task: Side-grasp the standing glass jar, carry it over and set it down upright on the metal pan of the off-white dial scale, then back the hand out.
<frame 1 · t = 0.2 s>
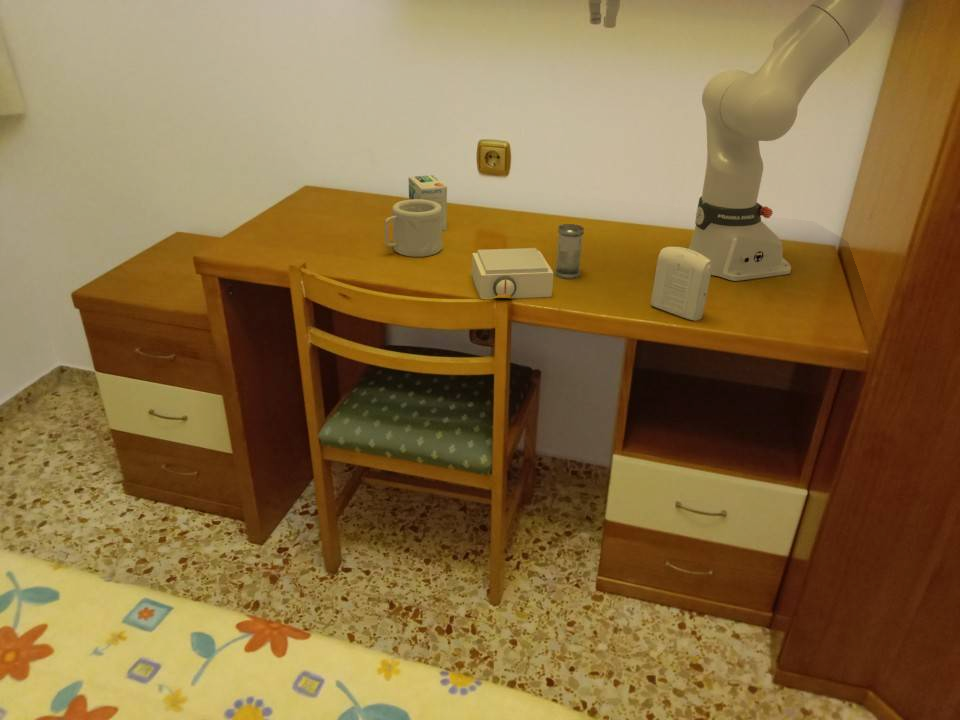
hand: (602, 26, 136), 47 cm above the table, tool pointing down, fingers open, 8 cm apart
scale: (510, 285, 150), on the table
mug: (412, 251, 167), on the table
light bulb box: (427, 225, 182), on the table
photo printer: (676, 312, 142), on the table
glass jar: (567, 274, 157), on the table
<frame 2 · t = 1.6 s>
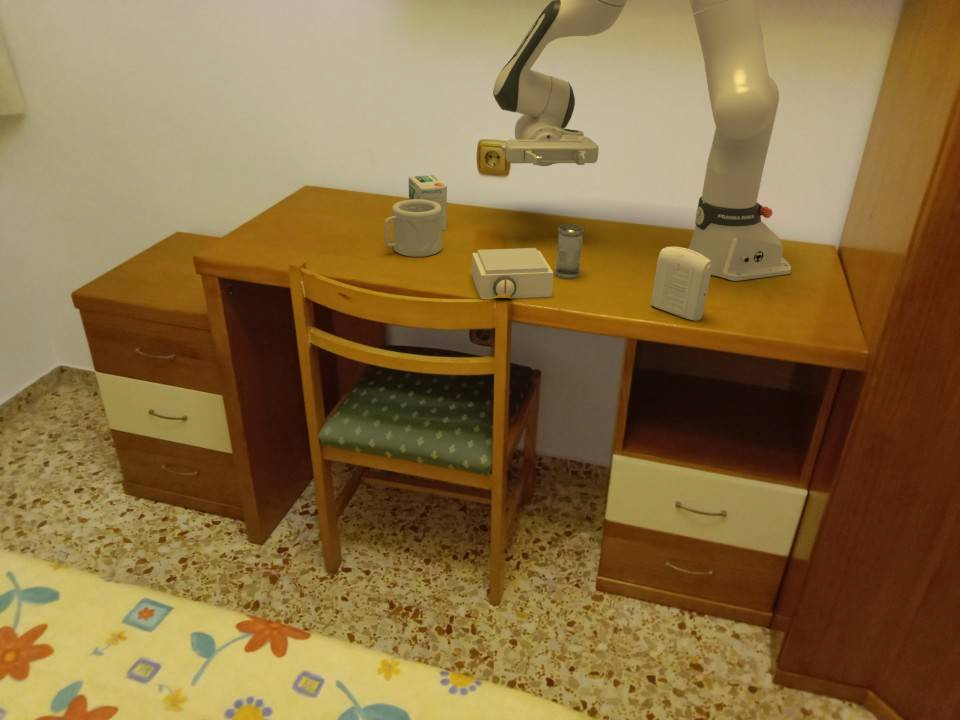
hand: (559, 161, 157), 21 cm above the table, tool horizontal, fingers open, 8 cm apart
nothing on the table moved.
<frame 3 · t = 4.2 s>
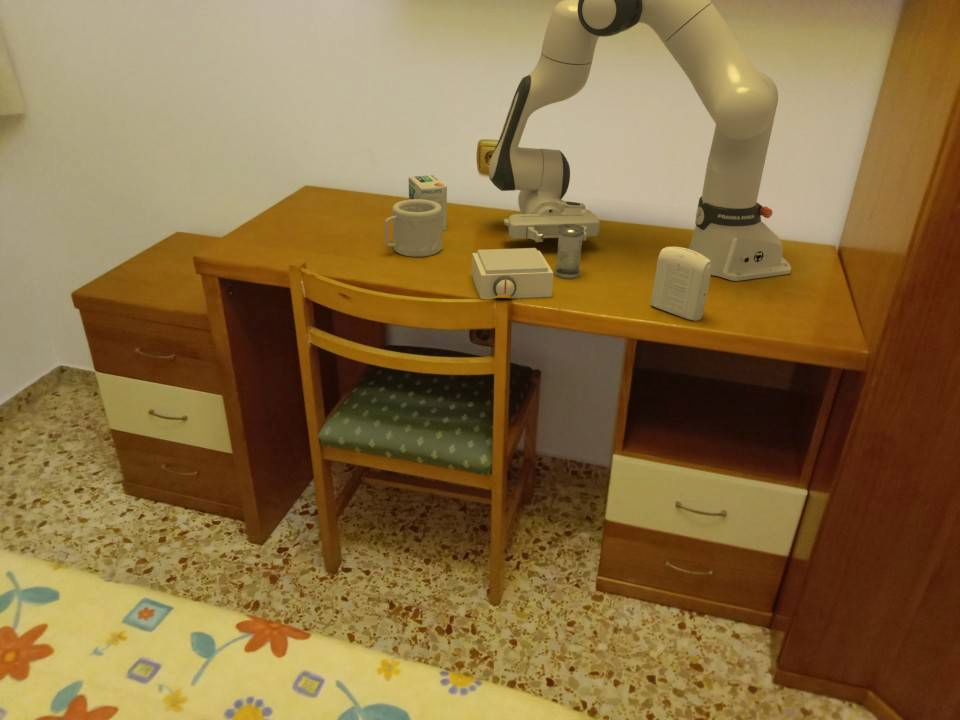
hand: (561, 237, 160), 5 cm above the table, tool horizontal, fingers open, 8 cm apart
nothing on the table moved.
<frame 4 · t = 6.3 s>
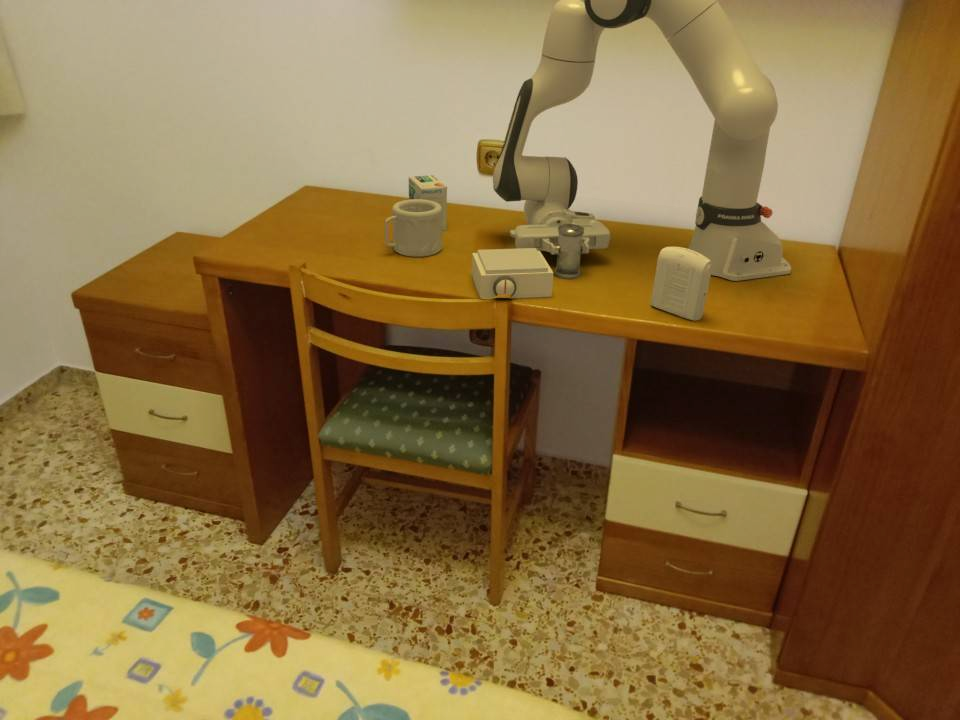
hand: (570, 250, 153), 6 cm above the table, tool horizontal, fingers closed on glass jar, 5 cm apart
glass jar: (567, 274, 157), on the table, touching gripper
everything else where it was.
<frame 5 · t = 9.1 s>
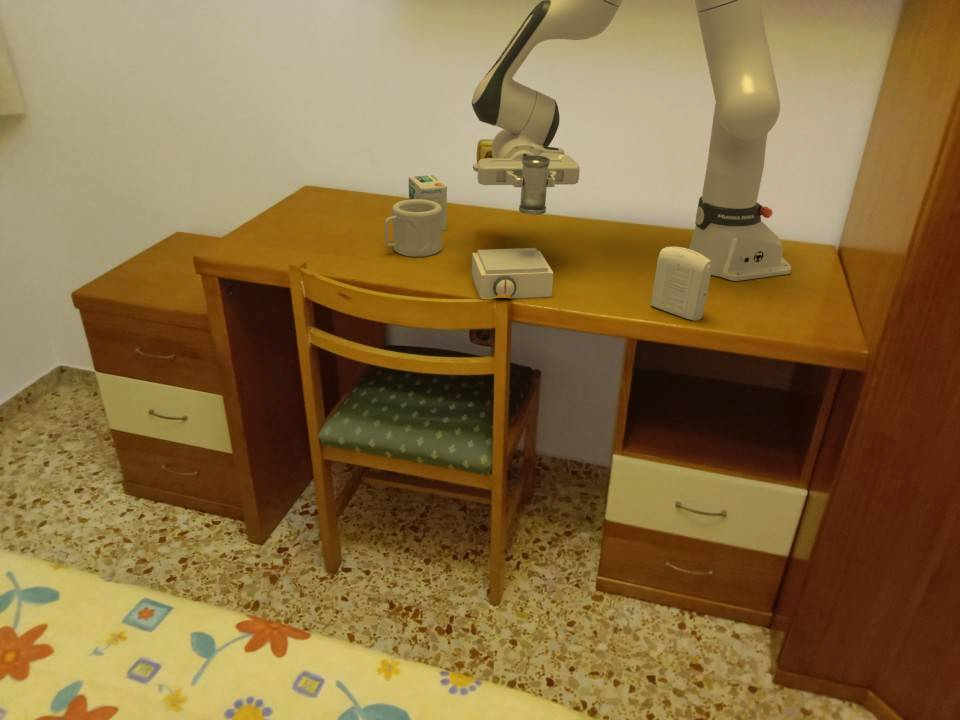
hand: (535, 183, 142), 20 cm above the table, tool horizontal, fingers closed on glass jar, 5 cm apart
glass jar: (532, 210, 146), point 15 cm above the table, touching gripper
everything else where it was.
when the fingers open (13 cm above the table, at t = 11.6 s): glass jar drops 1 cm, resting on scale.
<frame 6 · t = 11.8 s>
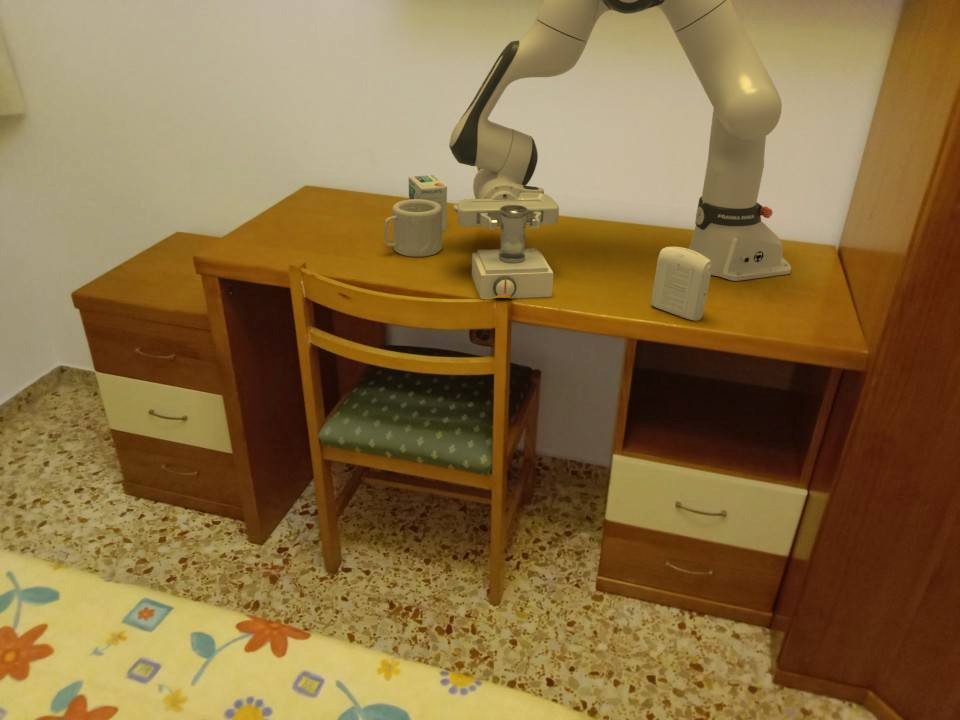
hand: (514, 225, 143), 13 cm above the table, tool horizontal, fingers open, 7 cm apart
glass jar: (511, 258, 148), point 6 cm above the table, touching scale
everything else where it was.
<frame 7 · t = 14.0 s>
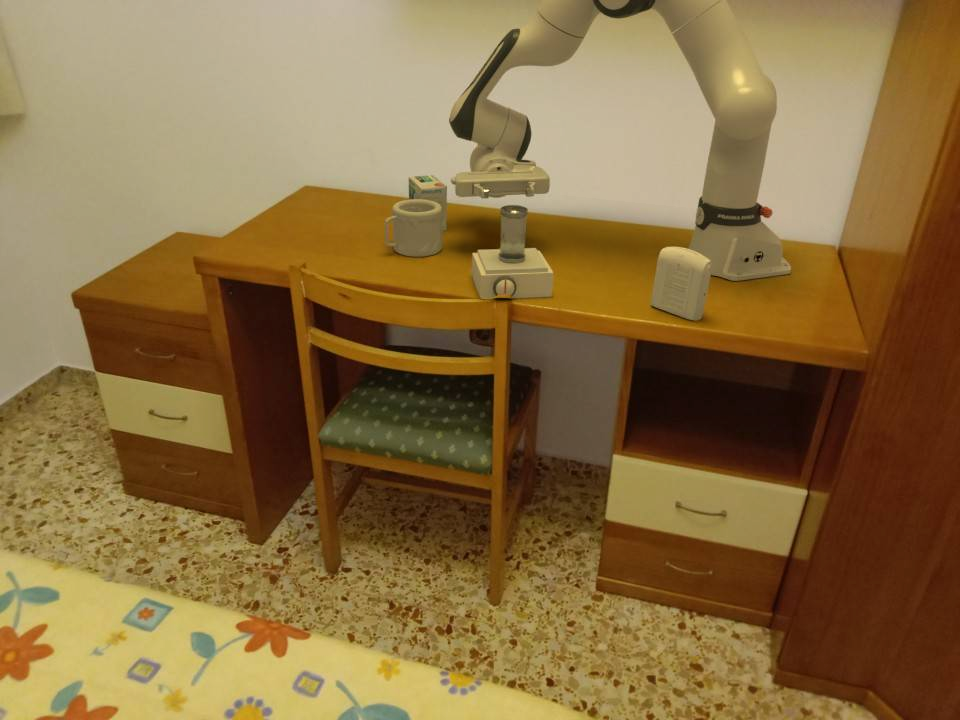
hand: (508, 193, 154), 15 cm above the table, tool horizontal, fingers open, 8 cm apart
nothing on the table moved.
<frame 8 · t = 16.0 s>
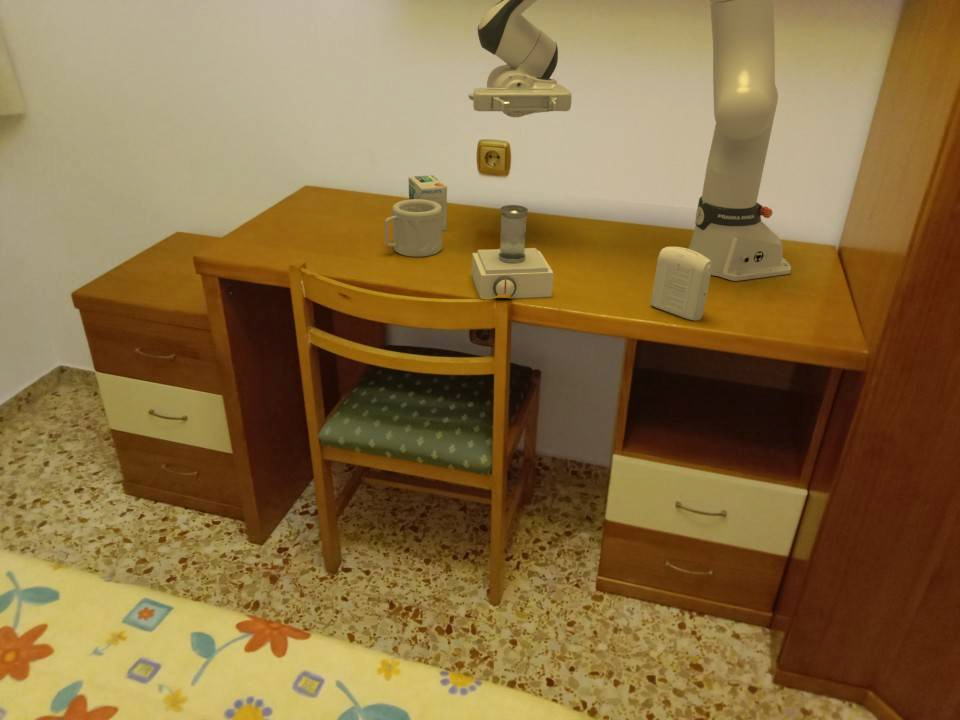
hand: (528, 106, 148), 32 cm above the table, tool horizontal, fingers open, 8 cm apart
nothing on the table moved.
at the end: glass jar inside the target area on the scale (0.1 cm from its centre), point 5.8 cm above the scale's base; glass jar tilted 0°; the gripper is holding nothing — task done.
